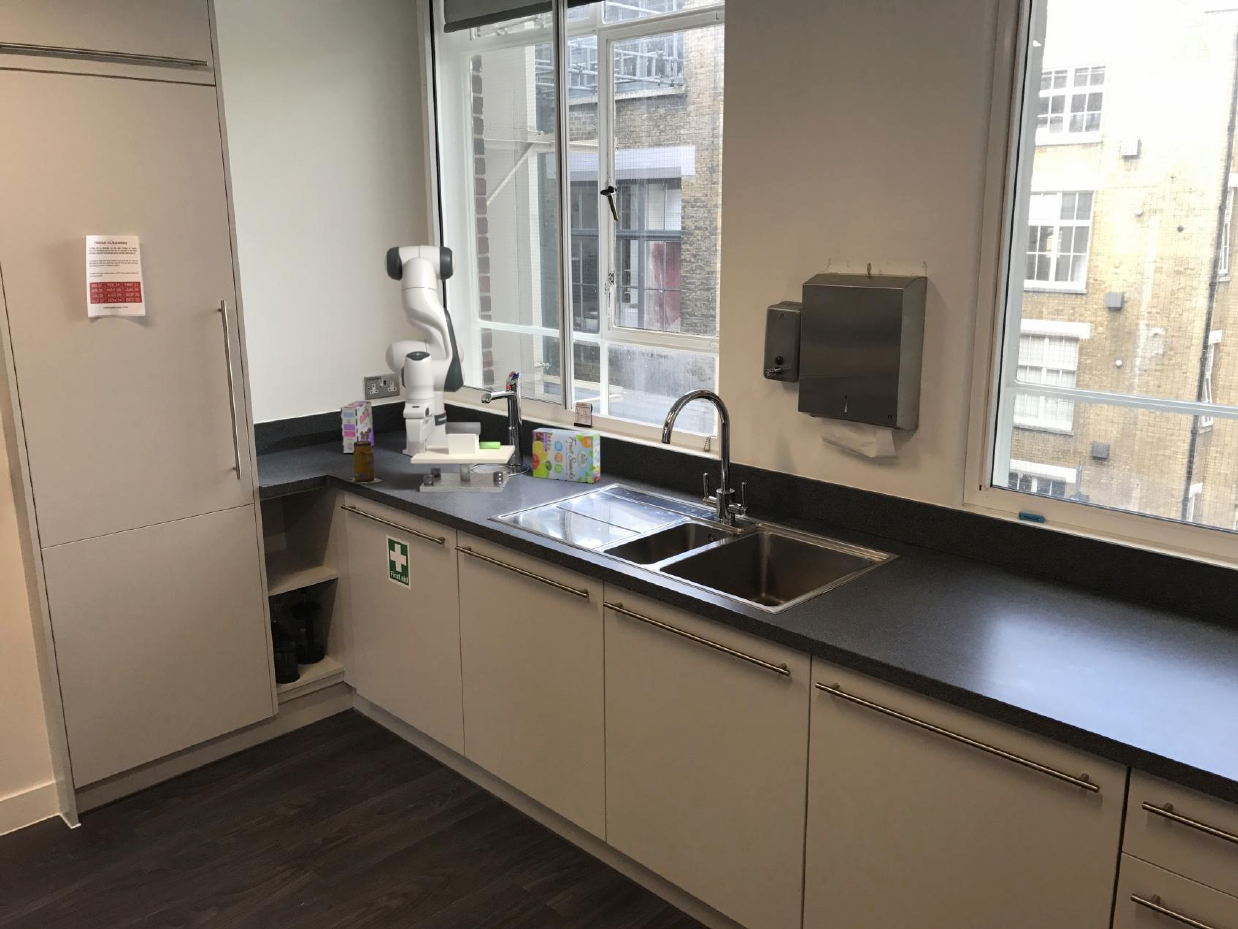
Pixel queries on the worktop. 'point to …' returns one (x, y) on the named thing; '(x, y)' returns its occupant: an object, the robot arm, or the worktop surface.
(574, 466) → the snack box
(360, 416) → the candy box
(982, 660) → the worktop surface
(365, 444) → the condiment
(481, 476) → the bolted base plate
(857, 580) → the worktop surface
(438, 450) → the plate
